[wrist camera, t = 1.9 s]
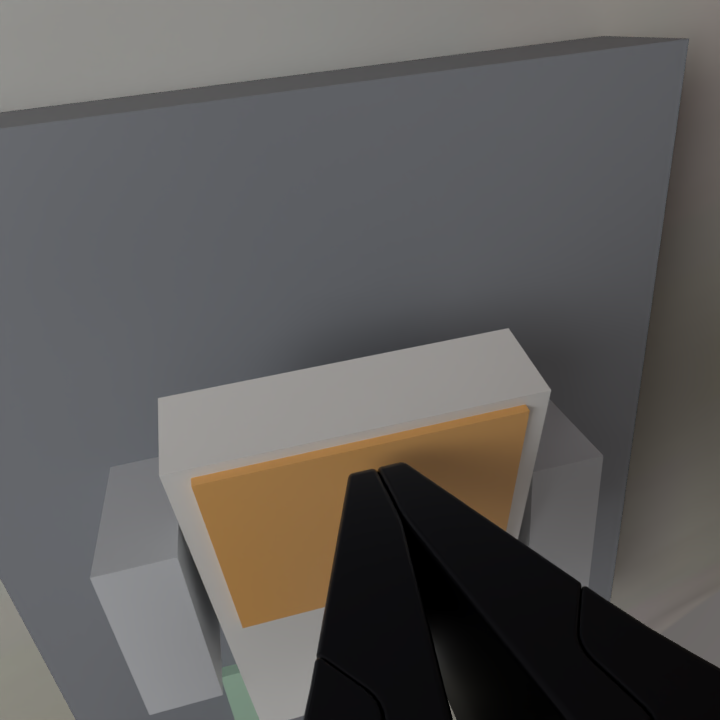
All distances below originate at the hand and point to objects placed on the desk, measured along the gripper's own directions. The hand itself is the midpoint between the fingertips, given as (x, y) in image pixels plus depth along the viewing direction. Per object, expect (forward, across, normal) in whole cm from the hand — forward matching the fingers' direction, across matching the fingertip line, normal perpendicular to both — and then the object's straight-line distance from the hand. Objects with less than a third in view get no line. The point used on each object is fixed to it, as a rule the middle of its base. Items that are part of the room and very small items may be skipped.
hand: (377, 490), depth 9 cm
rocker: (+2, 0, +4) cm, 5 cm away
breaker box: (+8, 0, +4) cm, 9 cm away
